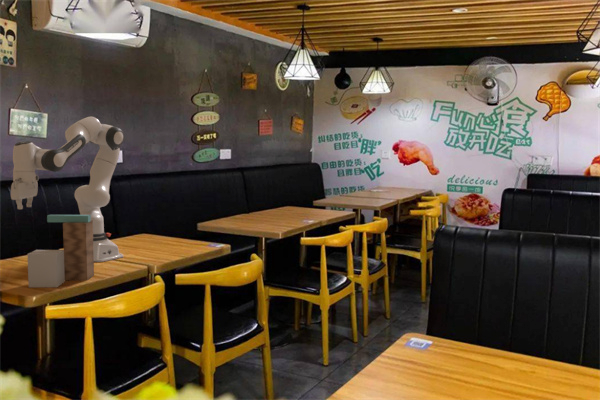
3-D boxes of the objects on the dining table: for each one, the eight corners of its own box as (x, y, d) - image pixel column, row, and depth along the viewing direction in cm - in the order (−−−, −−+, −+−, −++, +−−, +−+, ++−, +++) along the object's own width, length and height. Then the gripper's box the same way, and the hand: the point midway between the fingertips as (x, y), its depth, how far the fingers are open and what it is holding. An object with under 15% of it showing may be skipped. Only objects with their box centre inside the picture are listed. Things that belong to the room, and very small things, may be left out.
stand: (64, 280, 252) (62, 223, 249) (72, 275, 261) (70, 220, 259) (87, 280, 252) (85, 223, 249) (94, 275, 262) (92, 220, 259)
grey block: (28, 287, 239) (27, 254, 238) (37, 281, 248) (36, 249, 247) (57, 287, 240) (56, 254, 239) (64, 281, 249) (63, 249, 248)
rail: (47, 222, 251) (47, 215, 251) (50, 221, 255) (50, 214, 255) (88, 222, 253) (88, 215, 252) (90, 221, 256) (90, 214, 256)
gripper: (21, 179, 242) (22, 210, 243) (40, 176, 262) (40, 205, 264) (6, 178, 242) (7, 210, 243) (26, 176, 262) (26, 205, 263)
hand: (24, 208), depth 253 cm, fingers open, 8 cm apart
